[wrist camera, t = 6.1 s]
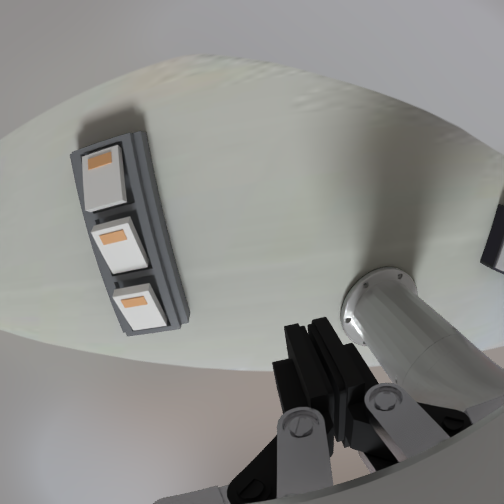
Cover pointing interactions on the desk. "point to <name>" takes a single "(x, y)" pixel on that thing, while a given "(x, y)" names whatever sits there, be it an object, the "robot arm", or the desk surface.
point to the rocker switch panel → (147, 227)
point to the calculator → (495, 243)
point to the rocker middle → (120, 245)
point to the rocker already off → (140, 306)
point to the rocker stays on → (103, 179)
